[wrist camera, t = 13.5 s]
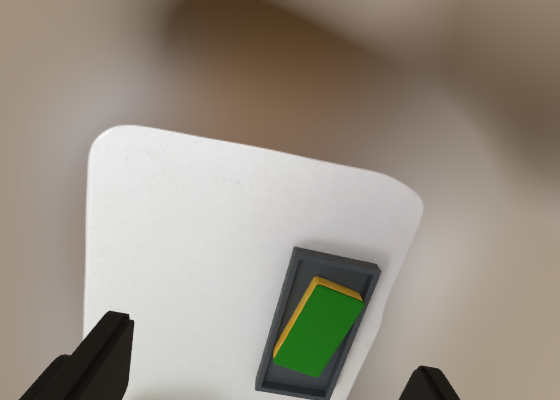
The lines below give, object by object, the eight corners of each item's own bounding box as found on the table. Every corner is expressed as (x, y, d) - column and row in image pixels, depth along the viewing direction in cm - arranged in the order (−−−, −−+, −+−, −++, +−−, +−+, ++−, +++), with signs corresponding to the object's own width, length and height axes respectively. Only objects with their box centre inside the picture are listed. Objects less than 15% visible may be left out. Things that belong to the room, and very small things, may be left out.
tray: (294, 246, 36) (295, 253, 34) (376, 264, 37) (381, 271, 35) (255, 379, 43) (254, 390, 41) (326, 391, 44) (328, 402, 42)
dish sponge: (272, 349, 40) (272, 363, 38) (315, 274, 37) (317, 285, 34) (315, 364, 41) (317, 379, 39) (360, 292, 38) (366, 304, 35)
